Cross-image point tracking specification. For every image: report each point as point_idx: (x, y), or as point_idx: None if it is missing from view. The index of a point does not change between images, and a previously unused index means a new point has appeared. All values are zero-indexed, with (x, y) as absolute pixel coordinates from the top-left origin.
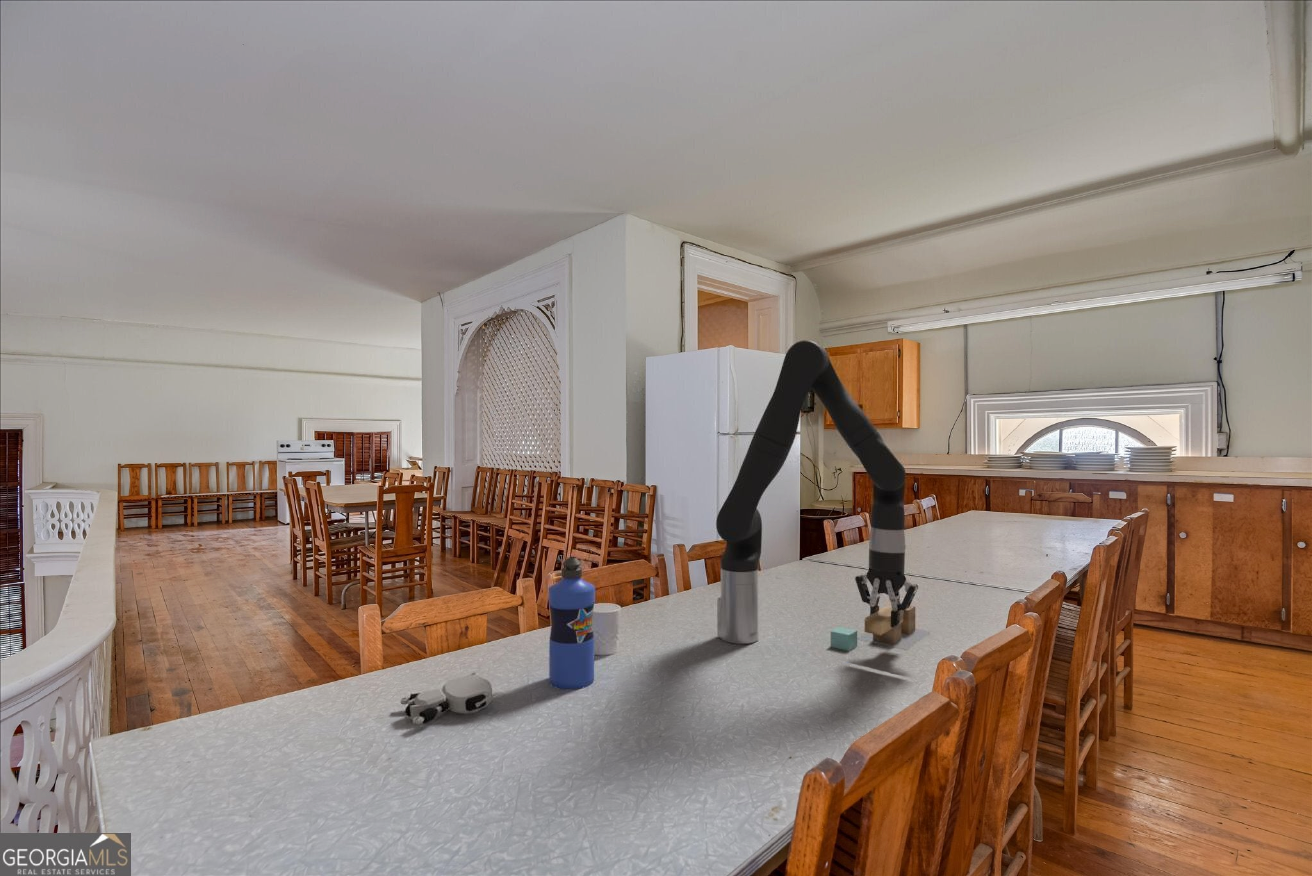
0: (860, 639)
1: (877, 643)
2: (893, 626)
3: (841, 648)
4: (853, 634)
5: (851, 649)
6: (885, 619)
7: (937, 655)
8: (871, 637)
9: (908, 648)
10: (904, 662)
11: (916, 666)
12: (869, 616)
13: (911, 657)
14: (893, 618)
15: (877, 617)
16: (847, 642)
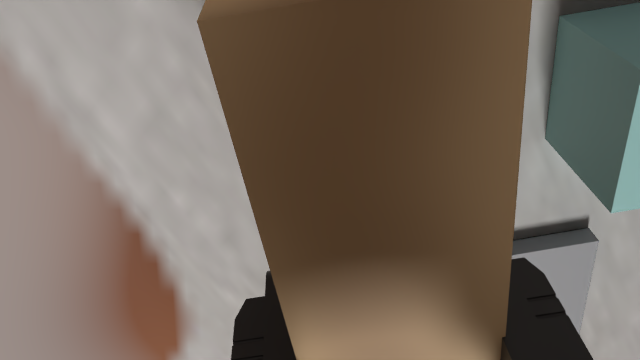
0: (574, 249)
1: None
2: (268, 276)
3: (636, 16)
4: (616, 145)
5: (567, 63)
6: (254, 210)
7: (191, 346)
8: None
9: None
10: (230, 159)
11: (144, 154)
12: (499, 127)
13: (253, 248)
14: (268, 347)
15: (376, 183)
16: (619, 42)
